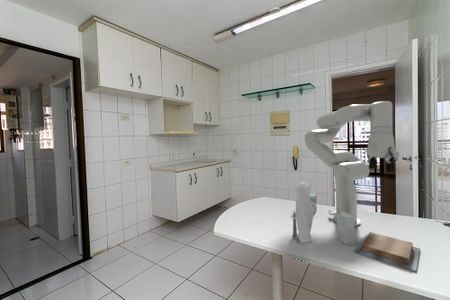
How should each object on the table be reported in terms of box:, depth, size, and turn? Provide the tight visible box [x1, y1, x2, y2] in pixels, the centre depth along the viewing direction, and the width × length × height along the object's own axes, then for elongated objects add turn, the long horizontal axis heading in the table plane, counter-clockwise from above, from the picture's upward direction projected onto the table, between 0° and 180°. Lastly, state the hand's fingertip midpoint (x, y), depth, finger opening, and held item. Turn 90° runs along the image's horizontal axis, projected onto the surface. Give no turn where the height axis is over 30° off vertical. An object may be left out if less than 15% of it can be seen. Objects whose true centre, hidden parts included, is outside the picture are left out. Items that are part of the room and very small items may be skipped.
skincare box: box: [336, 212, 356, 246], centre depth 89 cm, size 6×4×12 cm
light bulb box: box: [310, 192, 318, 214], centre depth 127 cm, size 11×7×11 cm, turn 58°
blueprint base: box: [353, 231, 421, 273], centre depth 80 cm, size 18×18×3 cm
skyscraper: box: [292, 178, 314, 244], centre depth 92 cm, size 8×8×28 cm
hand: (381, 170), depth 88 cm, fingers open, 9 cm apart
